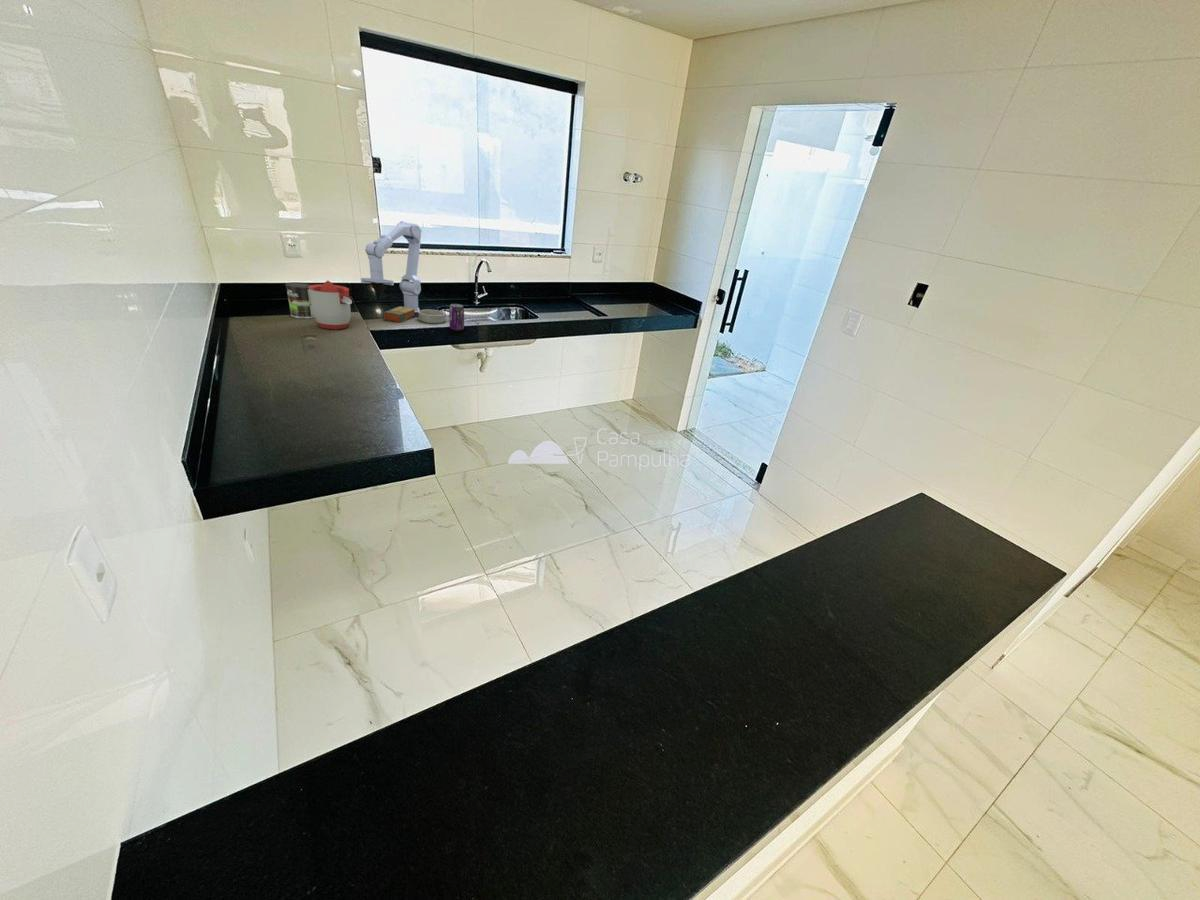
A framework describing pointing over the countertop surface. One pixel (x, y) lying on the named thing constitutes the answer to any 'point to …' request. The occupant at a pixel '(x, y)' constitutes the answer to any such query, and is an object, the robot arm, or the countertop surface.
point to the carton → (399, 314)
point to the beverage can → (456, 317)
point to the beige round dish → (431, 316)
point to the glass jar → (299, 300)
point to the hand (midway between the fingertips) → (378, 298)
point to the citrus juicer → (330, 305)
